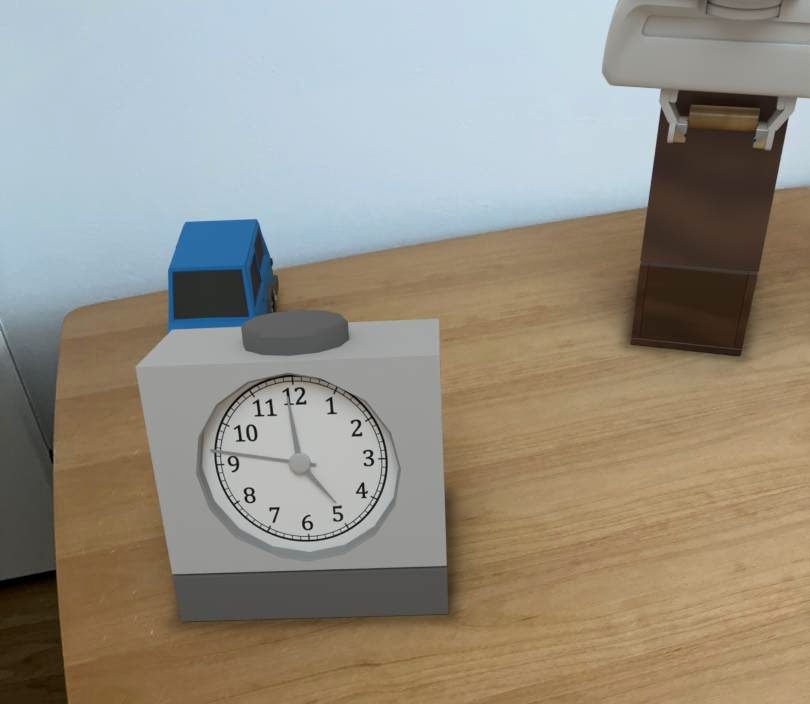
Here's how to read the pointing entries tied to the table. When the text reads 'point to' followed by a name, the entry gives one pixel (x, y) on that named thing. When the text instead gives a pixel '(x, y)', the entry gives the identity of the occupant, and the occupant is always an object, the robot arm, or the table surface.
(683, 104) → the lid
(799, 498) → the table surface
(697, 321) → the chest
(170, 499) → the alarm clock
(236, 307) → the toy car
